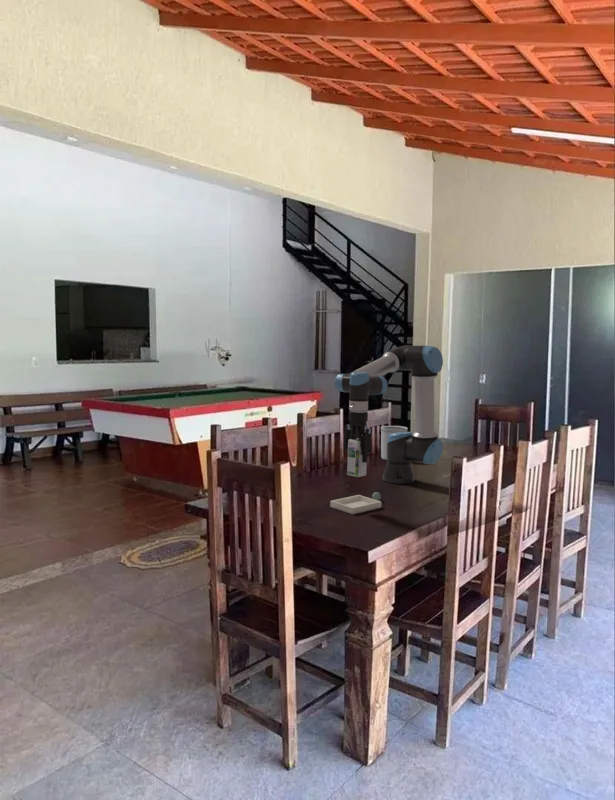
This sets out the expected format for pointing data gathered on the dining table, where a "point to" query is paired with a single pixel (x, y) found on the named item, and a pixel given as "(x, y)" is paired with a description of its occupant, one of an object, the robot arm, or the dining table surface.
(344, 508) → the tray
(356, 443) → the syrup box
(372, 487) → the dining table surface
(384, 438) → the utensil holder
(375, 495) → the ball
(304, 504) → the dining table surface
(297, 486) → the dining table surface
